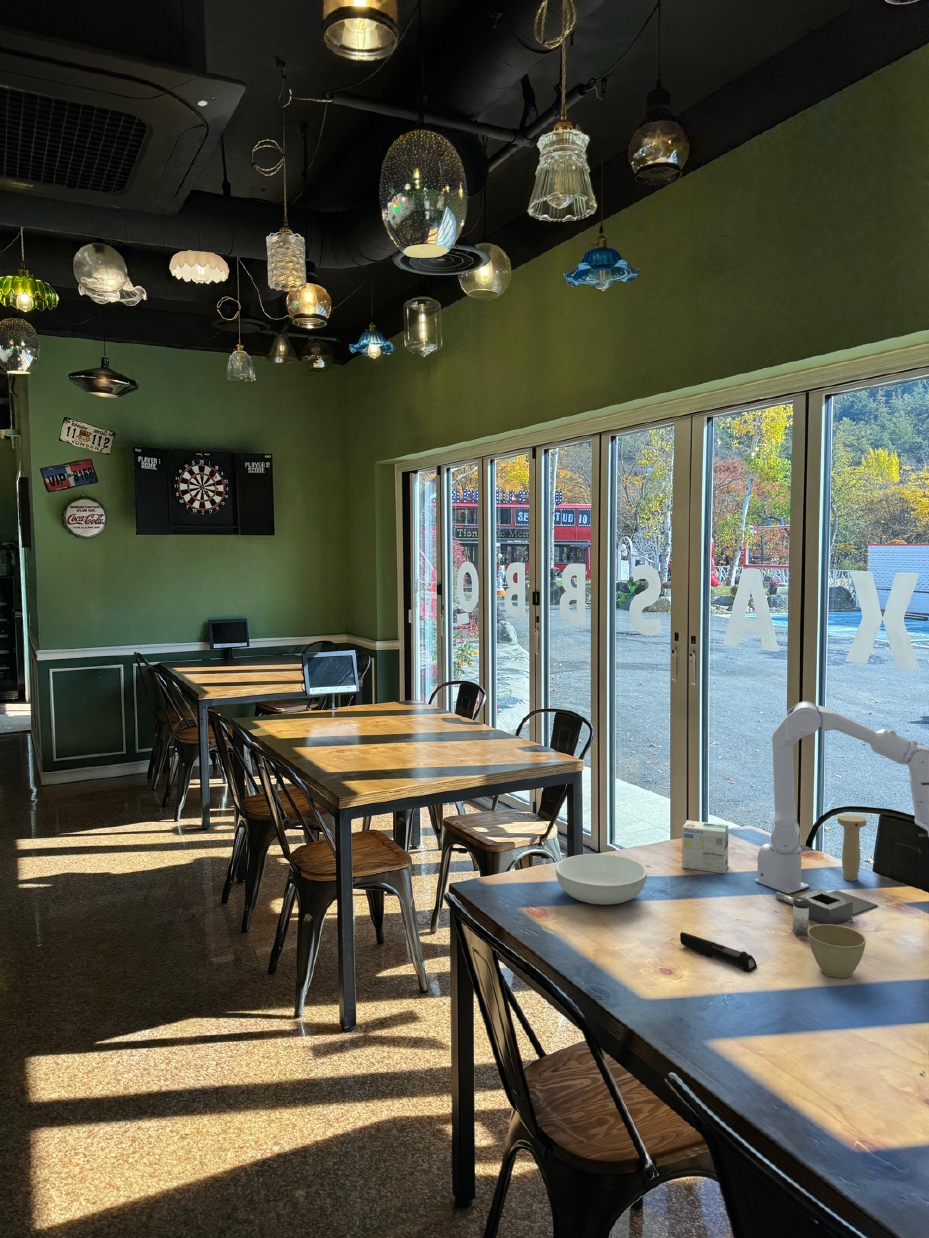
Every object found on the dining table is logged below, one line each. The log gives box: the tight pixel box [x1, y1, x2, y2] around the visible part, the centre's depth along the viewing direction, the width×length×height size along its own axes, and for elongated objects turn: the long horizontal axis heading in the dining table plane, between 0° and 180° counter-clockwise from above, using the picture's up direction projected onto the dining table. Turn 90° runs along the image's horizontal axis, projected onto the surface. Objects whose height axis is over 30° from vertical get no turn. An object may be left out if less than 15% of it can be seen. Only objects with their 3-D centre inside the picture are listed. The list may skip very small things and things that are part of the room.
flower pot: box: [807, 924, 867, 979], centre depth 157 cm, size 10×10×7 cm
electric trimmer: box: [679, 931, 758, 973], centre depth 164 cm, size 4×16×3 cm, turn 44°
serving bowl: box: [555, 853, 648, 906], centre depth 193 cm, size 21×21×7 cm
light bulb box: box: [681, 819, 729, 874], centre depth 212 cm, size 11×7×11 cm, turn 66°
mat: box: [829, 889, 878, 917], centre depth 189 cm, size 10×9×1 cm
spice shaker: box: [792, 896, 810, 937], centre depth 174 cm, size 3×3×7 cm
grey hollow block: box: [774, 889, 853, 926], centre depth 185 cm, size 16×8×4 cm, turn 32°
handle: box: [837, 814, 868, 882], centre depth 203 cm, size 5×6×15 cm
